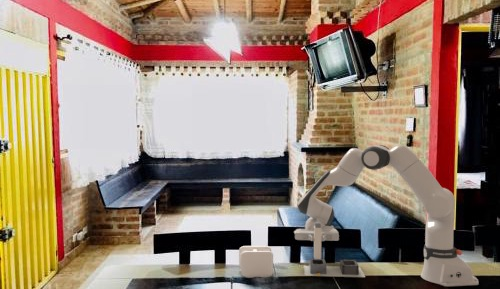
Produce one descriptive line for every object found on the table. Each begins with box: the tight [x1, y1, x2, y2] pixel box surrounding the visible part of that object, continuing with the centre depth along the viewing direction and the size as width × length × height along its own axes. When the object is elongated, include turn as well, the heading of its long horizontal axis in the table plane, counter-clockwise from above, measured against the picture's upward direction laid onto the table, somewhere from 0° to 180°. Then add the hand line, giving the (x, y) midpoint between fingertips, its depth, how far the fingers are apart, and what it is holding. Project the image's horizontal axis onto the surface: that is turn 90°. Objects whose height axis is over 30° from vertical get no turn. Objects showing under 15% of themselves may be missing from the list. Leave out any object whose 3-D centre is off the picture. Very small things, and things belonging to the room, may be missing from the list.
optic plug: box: [313, 222, 322, 259], centre depth 186 cm, size 3×4×16 cm
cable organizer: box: [238, 245, 274, 279], centre depth 185 cm, size 15×11×12 cm
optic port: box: [308, 258, 327, 274], centre depth 186 cm, size 7×8×4 cm
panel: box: [303, 259, 366, 278], centre depth 186 cm, size 26×13×5 cm, turn 85°
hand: (317, 239), depth 185 cm, fingers closed on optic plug, 3 cm apart
